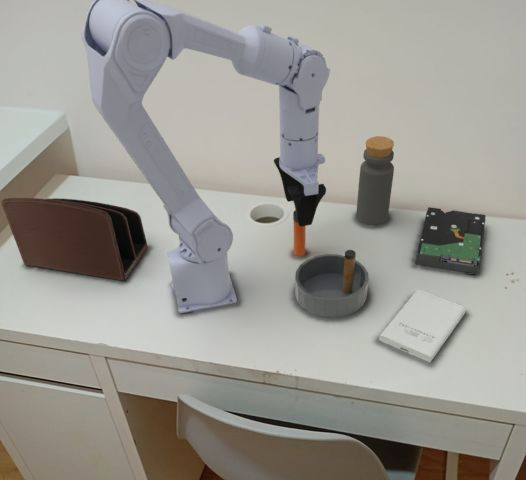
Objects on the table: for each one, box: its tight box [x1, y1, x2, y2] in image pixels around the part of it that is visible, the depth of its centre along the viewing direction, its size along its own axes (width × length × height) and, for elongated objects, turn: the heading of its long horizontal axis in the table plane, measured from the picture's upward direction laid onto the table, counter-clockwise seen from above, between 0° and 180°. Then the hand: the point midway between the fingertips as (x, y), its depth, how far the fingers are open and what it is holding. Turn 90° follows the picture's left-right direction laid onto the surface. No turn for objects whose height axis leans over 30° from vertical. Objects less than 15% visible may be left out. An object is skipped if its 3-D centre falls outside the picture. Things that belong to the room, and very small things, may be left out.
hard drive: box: [378, 289, 467, 363], centre depth 87 cm, size 2×8×12 cm
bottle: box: [355, 135, 395, 227], centre depth 103 cm, size 6×6×15 cm
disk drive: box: [415, 206, 486, 275], centre depth 100 cm, size 10×3×15 cm
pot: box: [294, 253, 370, 319], centre depth 92 cm, size 11×11×4 cm
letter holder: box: [1, 197, 148, 282], centre depth 99 cm, size 10×20×14 cm, turn 74°
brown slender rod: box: [342, 249, 357, 293], centre depth 91 cm, size 2×2×8 cm
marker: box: [292, 209, 307, 257], centre depth 98 cm, size 2×2×8 cm
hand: (298, 211), depth 95 cm, fingers open, 7 cm apart
